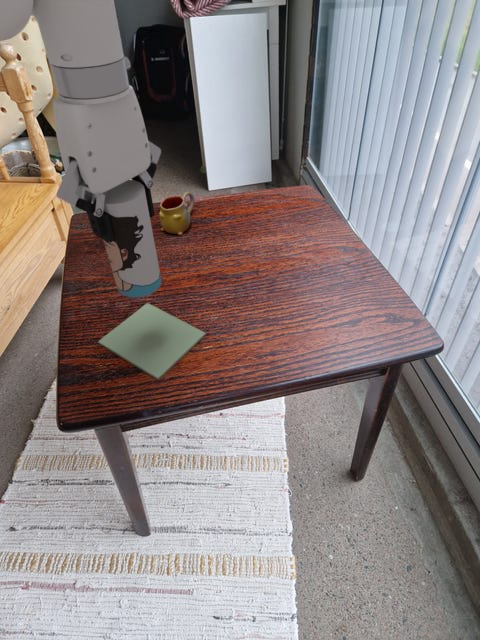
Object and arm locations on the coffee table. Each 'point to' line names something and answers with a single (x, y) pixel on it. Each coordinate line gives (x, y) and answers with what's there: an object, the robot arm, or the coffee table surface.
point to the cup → (131, 240)
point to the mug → (176, 213)
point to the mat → (152, 340)
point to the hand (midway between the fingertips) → (125, 224)
